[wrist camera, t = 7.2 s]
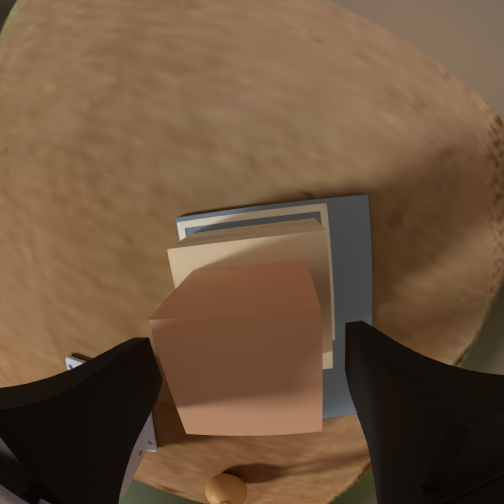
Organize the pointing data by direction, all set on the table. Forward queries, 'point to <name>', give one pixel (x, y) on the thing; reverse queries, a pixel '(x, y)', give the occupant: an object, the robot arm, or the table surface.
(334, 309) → the mat
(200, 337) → the terracotta cube
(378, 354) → the robot arm
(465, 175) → the table surface
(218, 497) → the figurine
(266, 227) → the maple base block
